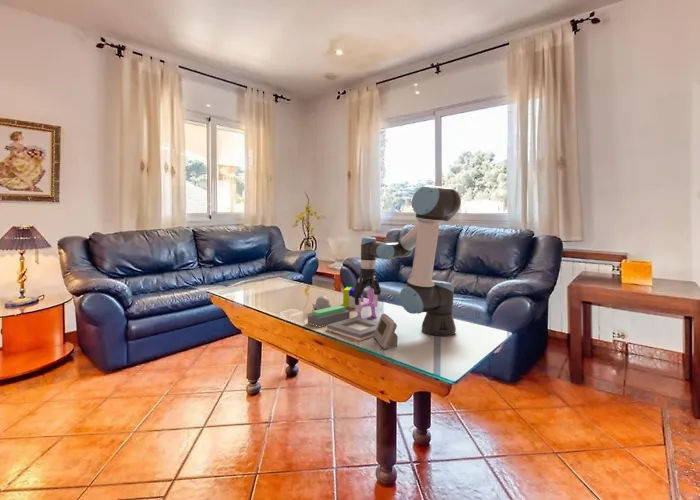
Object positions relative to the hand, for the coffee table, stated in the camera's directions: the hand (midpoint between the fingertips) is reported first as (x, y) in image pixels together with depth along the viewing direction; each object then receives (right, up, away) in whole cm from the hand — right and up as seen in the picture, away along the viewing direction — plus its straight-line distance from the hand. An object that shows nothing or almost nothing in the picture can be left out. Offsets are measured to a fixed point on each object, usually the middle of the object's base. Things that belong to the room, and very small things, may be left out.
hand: (366, 308), depth 191 cm
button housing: (-19, -5, -8) cm, 21 cm away
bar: (-19, -2, -9) cm, 21 cm away
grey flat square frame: (-5, -6, -23) cm, 24 cm away
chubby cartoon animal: (-24, -3, +8) cm, 26 cm away
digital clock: (+6, -8, -39) cm, 40 cm away
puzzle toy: (-7, -2, +25) cm, 26 cm away
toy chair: (0, -5, 0) cm, 5 cm away
